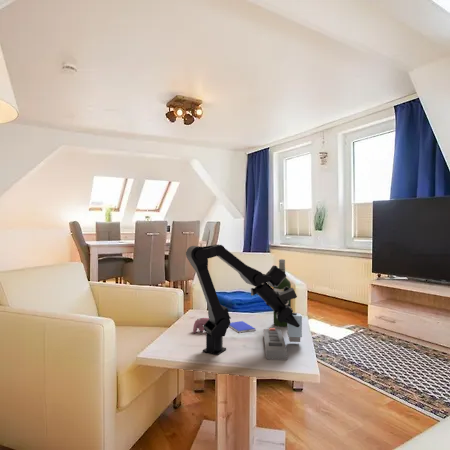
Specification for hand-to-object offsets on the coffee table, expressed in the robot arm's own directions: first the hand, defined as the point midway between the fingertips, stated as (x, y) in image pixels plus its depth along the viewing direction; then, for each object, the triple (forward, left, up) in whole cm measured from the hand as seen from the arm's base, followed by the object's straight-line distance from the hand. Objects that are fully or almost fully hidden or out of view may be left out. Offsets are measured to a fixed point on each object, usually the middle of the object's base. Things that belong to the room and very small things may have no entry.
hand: (298, 324), depth 129 cm
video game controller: (-5, +39, -8) cm, 40 cm away
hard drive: (+8, +29, -8) cm, 31 cm away
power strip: (-4, +8, -7) cm, 12 cm away
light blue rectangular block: (-1, +1, -6) cm, 6 cm away
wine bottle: (+22, +14, -7) cm, 27 cm away
